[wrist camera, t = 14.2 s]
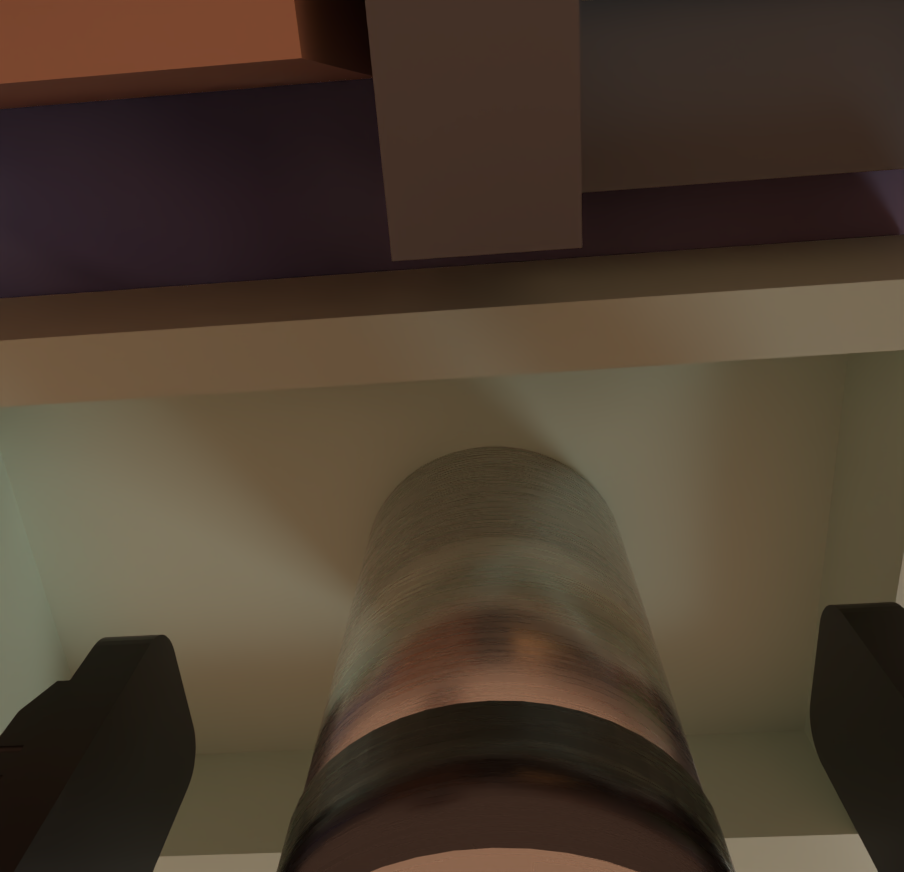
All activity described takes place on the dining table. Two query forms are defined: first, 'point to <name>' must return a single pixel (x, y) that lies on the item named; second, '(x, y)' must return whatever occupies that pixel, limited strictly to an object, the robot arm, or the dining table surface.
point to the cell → (500, 692)
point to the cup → (174, 47)
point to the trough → (435, 435)
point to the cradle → (616, 106)
